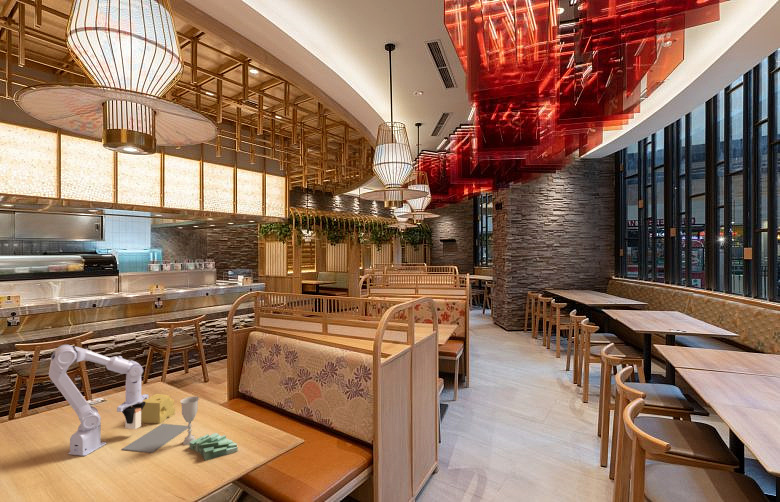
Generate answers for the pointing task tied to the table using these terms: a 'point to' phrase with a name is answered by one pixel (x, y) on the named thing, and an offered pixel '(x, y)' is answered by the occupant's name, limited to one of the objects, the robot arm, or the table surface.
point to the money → (213, 446)
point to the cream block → (134, 420)
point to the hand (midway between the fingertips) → (133, 421)
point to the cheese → (157, 409)
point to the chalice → (189, 415)
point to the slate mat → (155, 438)
